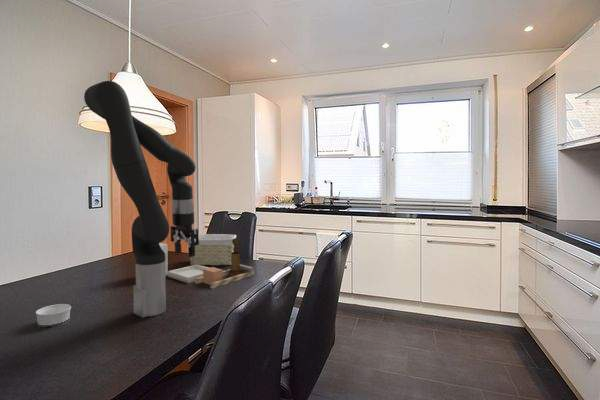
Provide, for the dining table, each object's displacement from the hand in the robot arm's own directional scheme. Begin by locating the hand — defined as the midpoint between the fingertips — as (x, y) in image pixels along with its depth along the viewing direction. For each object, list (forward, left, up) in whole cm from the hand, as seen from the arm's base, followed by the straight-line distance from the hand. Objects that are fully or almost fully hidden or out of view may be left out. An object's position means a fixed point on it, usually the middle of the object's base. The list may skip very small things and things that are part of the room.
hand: (184, 255), depth 121 cm
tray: (+21, +25, -17) cm, 37 cm away
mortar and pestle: (+33, +9, -17) cm, 38 cm away
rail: (+27, +9, -17) cm, 33 cm away
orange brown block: (+20, +9, -17) cm, 28 cm away
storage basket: (+43, +38, -18) cm, 60 cm away
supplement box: (+9, +38, -17) cm, 43 cm away
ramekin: (-36, +16, -18) cm, 43 cm away
